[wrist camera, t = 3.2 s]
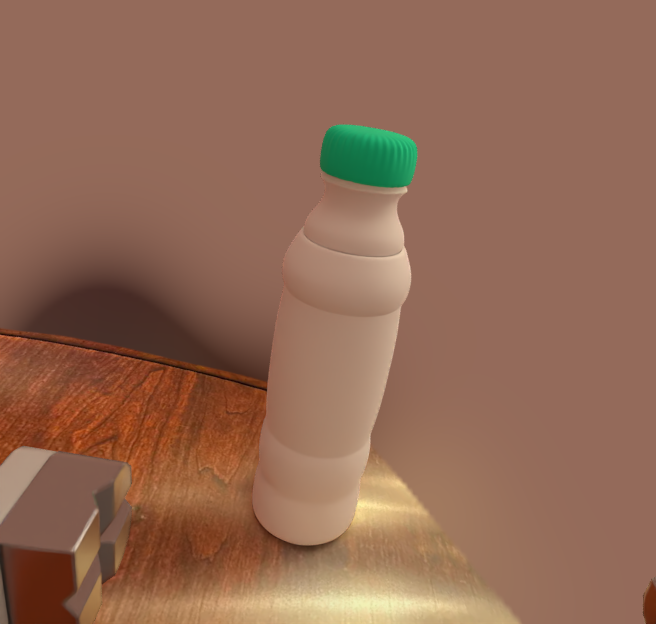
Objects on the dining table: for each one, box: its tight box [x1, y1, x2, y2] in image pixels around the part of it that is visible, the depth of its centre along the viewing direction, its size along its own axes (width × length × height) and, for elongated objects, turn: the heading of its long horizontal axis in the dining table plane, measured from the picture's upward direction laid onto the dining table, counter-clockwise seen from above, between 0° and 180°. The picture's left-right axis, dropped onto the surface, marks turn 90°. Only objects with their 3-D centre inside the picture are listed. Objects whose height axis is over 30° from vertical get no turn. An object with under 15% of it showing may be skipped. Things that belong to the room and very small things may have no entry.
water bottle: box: [252, 125, 417, 545], centre depth 32 cm, size 7×7×25 cm
